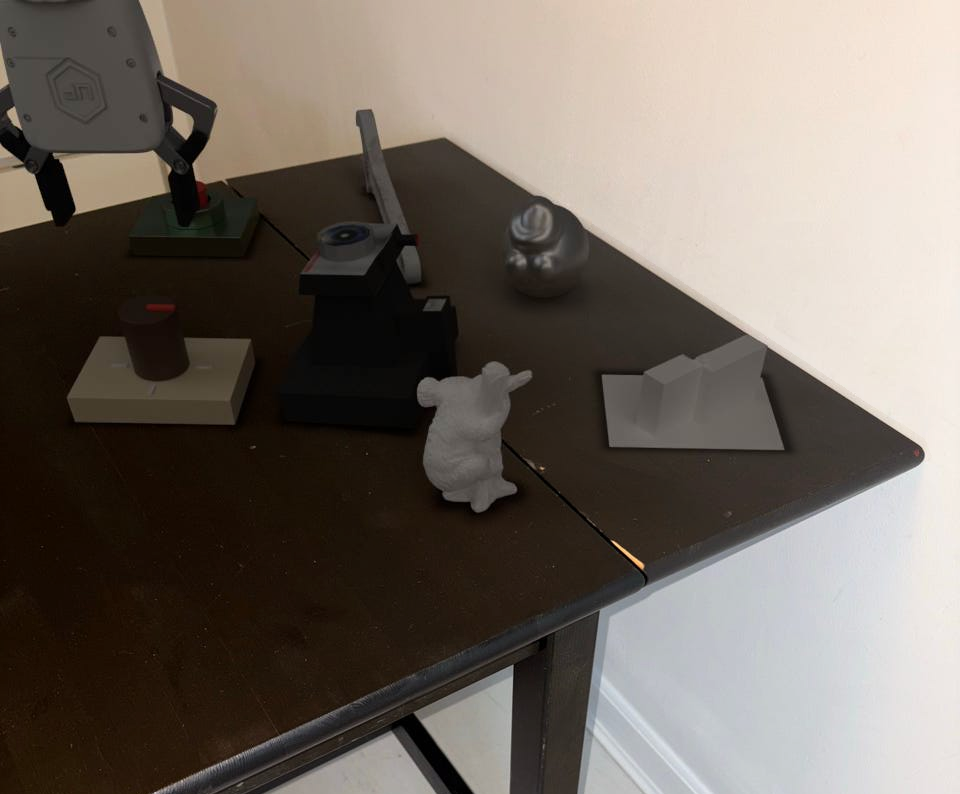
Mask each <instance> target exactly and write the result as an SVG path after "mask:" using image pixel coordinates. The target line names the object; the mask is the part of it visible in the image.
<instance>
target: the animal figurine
mask: <svg viewBox="0 0 960 794" xmlns="http://www.w3.org/2000/svg"><path fill="white" fill-rule="evenodd" d="M531 379H533V372H532V370H530V369H526V370H522V371H521V372H519V373H517V374H511V372H510V370H509V368H508V367H506V366H505V365H504V363H501V362H499V361H490V362H488V363H486V364H485V366H483V367H482V368H481V374H478V375H476V376H474V377H472V378H470V377H468V376H464V375H462V376H460V375H458V376H457V377H449V378H445V379H443V380H441V381H437V380H436V379H434V378H429V377H426V378H424V380H421V382H420V383H419V385H418V388H417V398H418V402H419V403H420V405H421V406H424V407H425V408H429V407H436V411H435V413H434V417H433V418H432V420H431V421H432V423H431V424H430V425H429V427H428V433H427V437H426V441H425V445H424V451H423V452H424V453H423V455H422V465H423V468H424V471H425V475H426V476H427V478H428V481H429V482H430V483H431V484H432V485H433V486H434V487H436V488H437V489H438V490H440V491H442V497H443V499H444V500H446V501H449V502H454V503H456V502H458V503H459V502H460V503H467V502H469V503H470V508H471V509H472V510H473V511H474V512H475V513H477V514H478V513H482V512H485V511H486V510H488V509H489V508H490V506H491V504H493V503H495V501H496V500H497V499H501V498H504V497H507V496H511V495H514V494H516V493H517V492H518V487H517V486H516V484H514V482H511V481H507V480H505V478H503V477H502V473H503V470H504V464H503V454H502V450H501V447H502V442H503V441H502V433H501V431H502V430H501V429H502V427H503V426H504V424H505V423H506V421H507V419H508V415H509V414H510V411H511V398H510V394H509V393H510V392H514V391H515V390H516V389H518V388H520V387H523V386H525V385H526V384H527V383H528V382H530V381H531Z"/></svg>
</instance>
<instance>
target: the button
mask: <svg viewBox="0 0 960 794" xmlns="http://www.w3.org/2000/svg"><path fill="white" fill-rule="evenodd" d="M196 183H197V188H198V193H199V198H200V207H201V206H203V205H205V204H207V203H209V200H208V195H207V190H206V188H207V186H206V184H205V182H203V181H201V180H196Z"/></svg>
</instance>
